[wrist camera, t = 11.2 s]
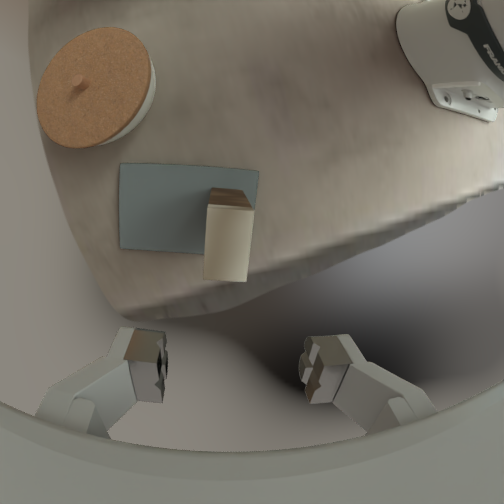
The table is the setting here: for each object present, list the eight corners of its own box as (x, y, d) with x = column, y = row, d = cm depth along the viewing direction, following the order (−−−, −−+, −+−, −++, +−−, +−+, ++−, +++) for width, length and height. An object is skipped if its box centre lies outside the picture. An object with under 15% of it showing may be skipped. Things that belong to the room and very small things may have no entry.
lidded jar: (155, 38, 21) (132, -1, 12) (177, 125, 25) (158, 114, 16) (68, 78, 21) (21, 61, 12) (86, 162, 25) (37, 171, 16)
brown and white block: (242, 189, 27) (254, 211, 18) (237, 238, 29) (246, 282, 19) (211, 187, 27) (207, 207, 17) (207, 236, 28) (203, 279, 19)
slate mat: (258, 170, 27) (259, 171, 27) (248, 254, 30) (248, 257, 30) (122, 163, 25) (120, 163, 25) (122, 245, 28) (120, 248, 28)
